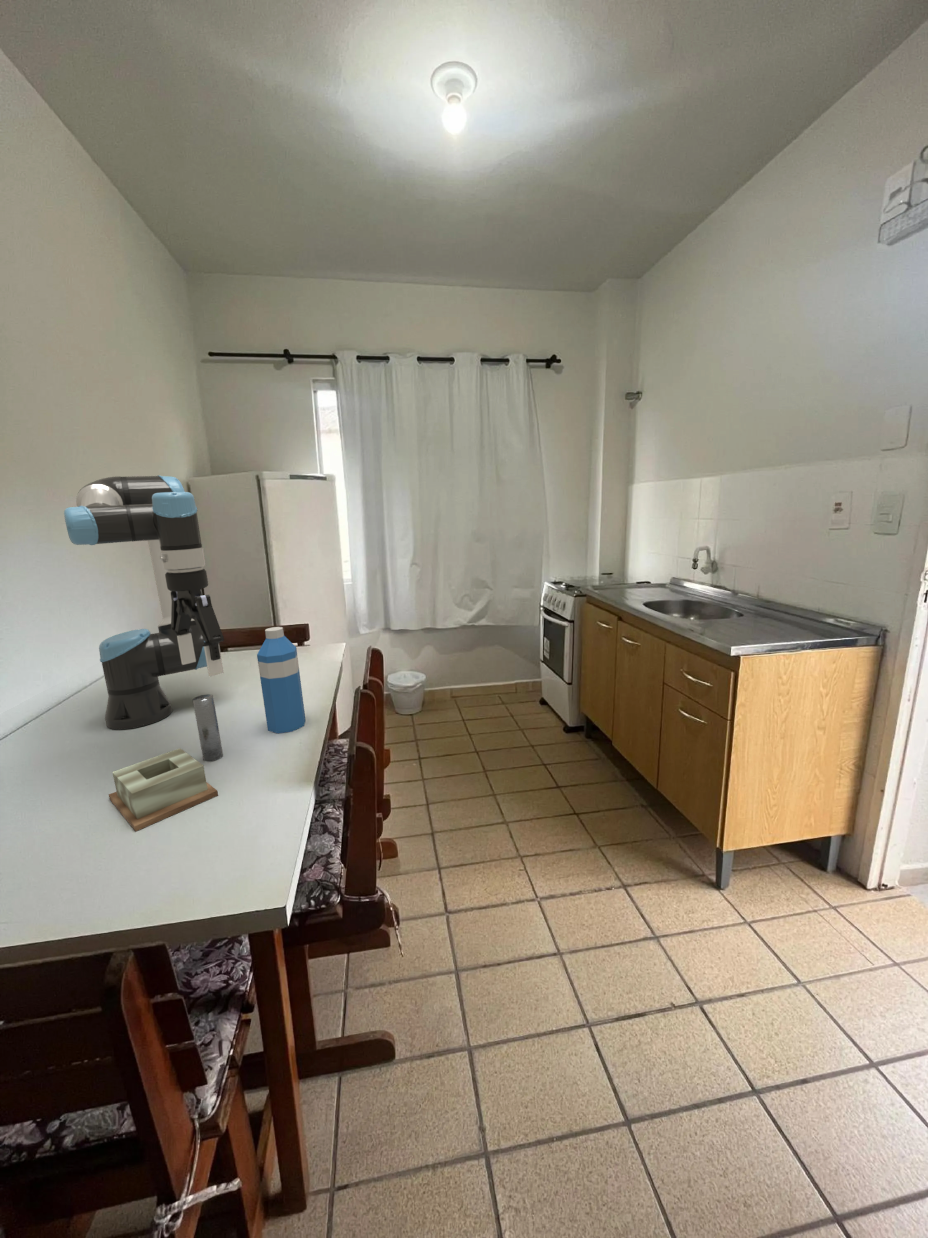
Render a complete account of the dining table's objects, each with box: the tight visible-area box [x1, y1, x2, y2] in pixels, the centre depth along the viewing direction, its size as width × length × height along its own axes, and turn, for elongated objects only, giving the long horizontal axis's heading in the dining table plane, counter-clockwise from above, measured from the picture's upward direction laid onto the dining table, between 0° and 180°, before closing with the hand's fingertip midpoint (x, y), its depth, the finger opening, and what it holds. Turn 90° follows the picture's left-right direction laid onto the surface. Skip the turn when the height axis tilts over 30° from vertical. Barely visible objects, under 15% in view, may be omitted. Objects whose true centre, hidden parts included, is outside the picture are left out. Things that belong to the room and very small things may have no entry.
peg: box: [192, 694, 224, 763], centre depth 112 cm, size 4×4×14 cm
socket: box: [108, 747, 219, 832], centre depth 98 cm, size 16×14×6 cm
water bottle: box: [256, 626, 306, 734], centre depth 126 cm, size 9×9×25 cm
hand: (202, 668), depth 109 cm, fingers open, 13 cm apart
